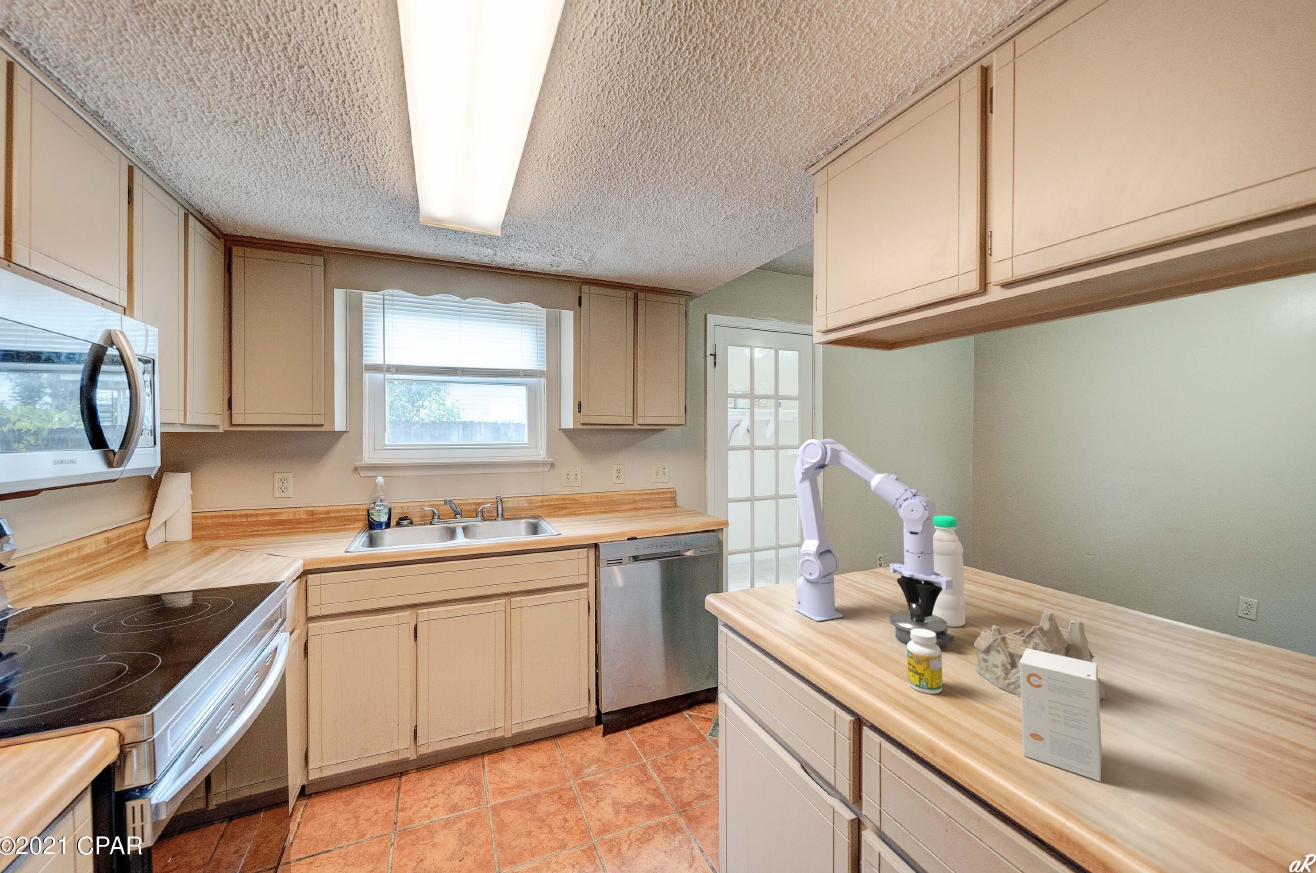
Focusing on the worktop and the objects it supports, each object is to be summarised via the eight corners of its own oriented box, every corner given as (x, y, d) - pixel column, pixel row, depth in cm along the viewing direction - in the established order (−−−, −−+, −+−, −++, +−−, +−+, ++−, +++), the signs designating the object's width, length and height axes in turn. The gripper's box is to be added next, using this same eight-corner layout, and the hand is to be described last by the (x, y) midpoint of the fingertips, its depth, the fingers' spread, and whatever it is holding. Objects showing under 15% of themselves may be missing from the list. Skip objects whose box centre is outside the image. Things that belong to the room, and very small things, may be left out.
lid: (878, 618, 109) (878, 598, 109) (918, 612, 112) (917, 592, 112) (917, 637, 98) (916, 614, 98) (960, 630, 101) (959, 608, 101)
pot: (877, 631, 110) (877, 616, 110) (911, 624, 114) (910, 609, 114) (932, 657, 97) (932, 640, 97) (968, 649, 100) (968, 632, 100)
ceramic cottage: (1125, 699, 80) (1113, 607, 81) (1040, 715, 77) (1028, 619, 78) (1037, 663, 95) (1028, 586, 96) (964, 675, 93) (955, 595, 94)
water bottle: (972, 627, 111) (968, 518, 111) (941, 628, 111) (937, 519, 112) (954, 616, 118) (951, 514, 119) (924, 617, 118) (921, 514, 119)
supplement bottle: (950, 691, 84) (948, 636, 84) (925, 697, 82) (923, 640, 83) (924, 677, 89) (922, 625, 89) (901, 682, 88) (899, 629, 88)
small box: (1102, 758, 66) (1099, 662, 66) (1101, 783, 61) (1098, 680, 61) (1027, 735, 72) (1025, 646, 72) (1021, 756, 67) (1019, 661, 67)
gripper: (878, 546, 111) (880, 605, 111) (934, 560, 97) (936, 628, 97) (902, 543, 113) (903, 601, 113) (959, 556, 100) (961, 622, 100)
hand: (920, 613), depth 105 cm, fingers closed on lid, 3 cm apart
